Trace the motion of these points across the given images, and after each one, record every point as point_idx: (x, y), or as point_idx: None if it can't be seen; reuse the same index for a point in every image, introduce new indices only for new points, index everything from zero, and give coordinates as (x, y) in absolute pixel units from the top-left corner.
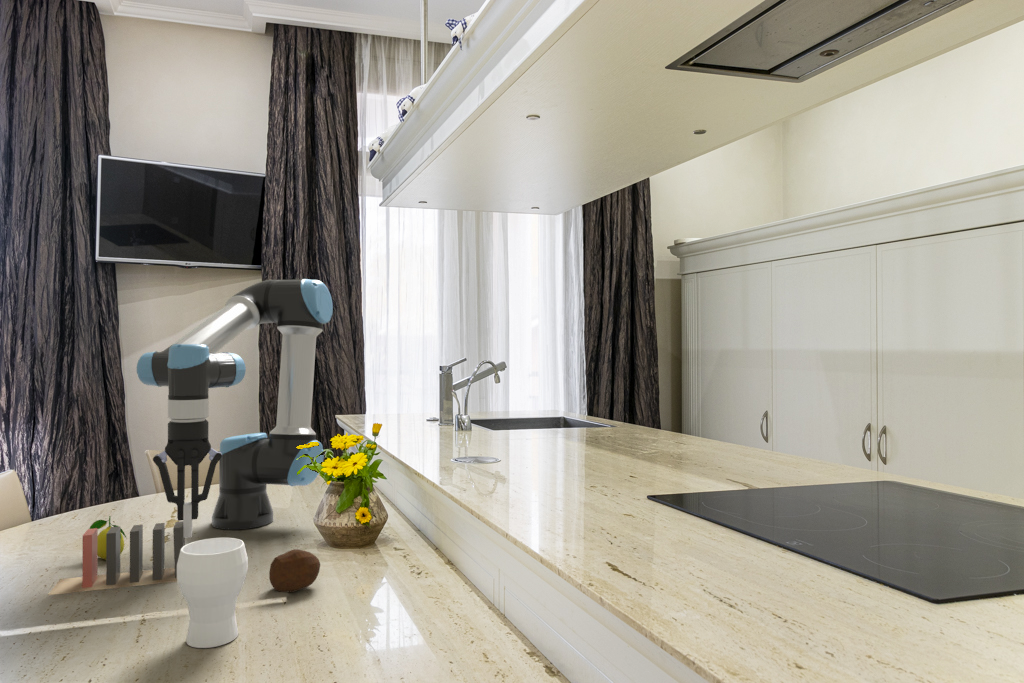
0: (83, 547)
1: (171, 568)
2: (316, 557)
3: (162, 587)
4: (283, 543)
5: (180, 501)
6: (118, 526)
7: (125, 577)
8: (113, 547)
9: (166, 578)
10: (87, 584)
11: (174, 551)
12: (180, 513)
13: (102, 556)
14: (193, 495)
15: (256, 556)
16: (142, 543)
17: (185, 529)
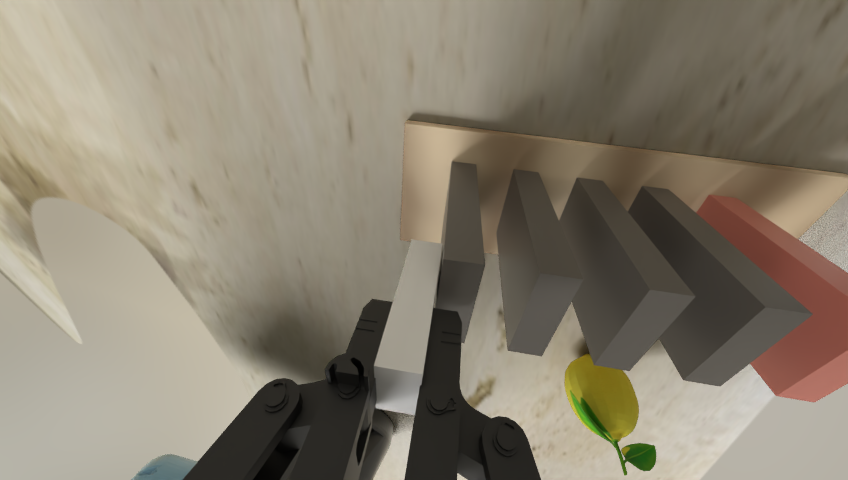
0: None
1: None
2: None
3: (514, 128)
4: (251, 309)
5: (437, 407)
6: (598, 431)
7: None
8: (725, 259)
9: (499, 172)
10: (727, 200)
11: (478, 205)
12: (444, 340)
13: None
14: (340, 433)
15: (290, 261)
16: (574, 301)
17: (429, 264)
